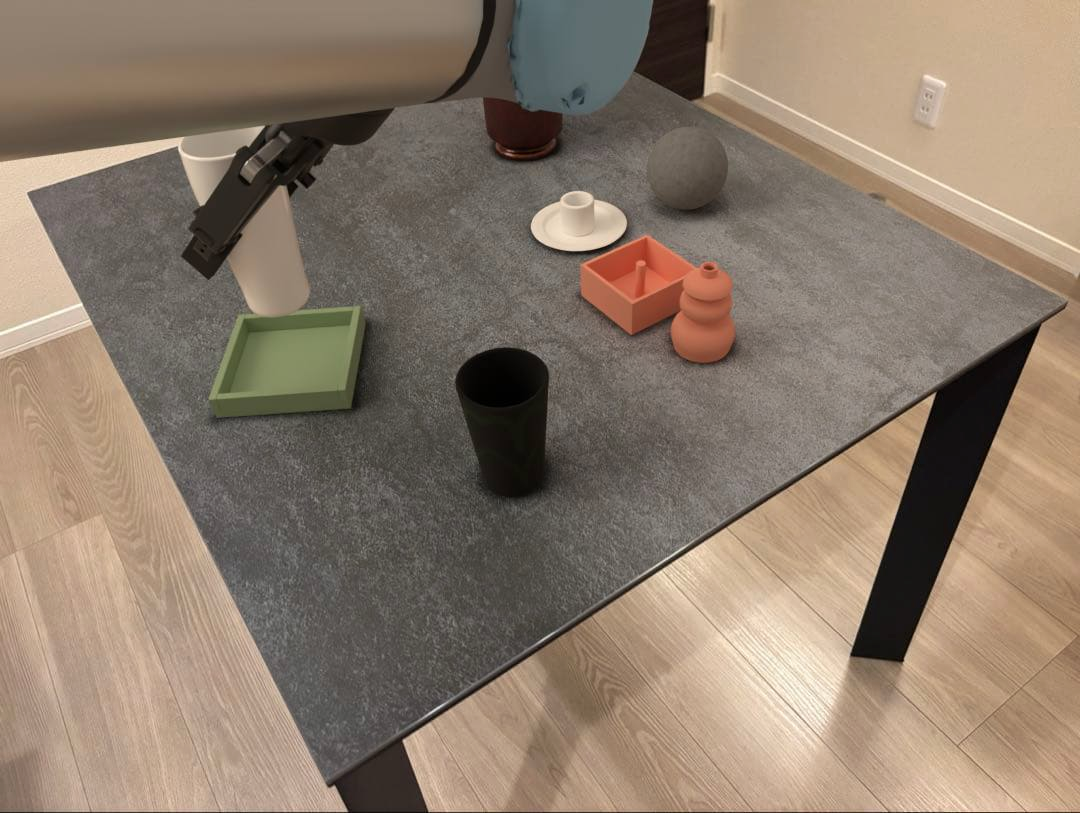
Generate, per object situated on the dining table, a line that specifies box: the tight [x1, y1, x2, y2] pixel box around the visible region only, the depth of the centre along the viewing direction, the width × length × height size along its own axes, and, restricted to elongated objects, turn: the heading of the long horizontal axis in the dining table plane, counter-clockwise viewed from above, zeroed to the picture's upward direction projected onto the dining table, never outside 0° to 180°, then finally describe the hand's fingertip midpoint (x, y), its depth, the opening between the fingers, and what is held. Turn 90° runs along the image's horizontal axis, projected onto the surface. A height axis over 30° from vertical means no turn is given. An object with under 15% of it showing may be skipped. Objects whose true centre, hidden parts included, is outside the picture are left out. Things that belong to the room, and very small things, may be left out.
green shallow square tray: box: [207, 305, 367, 419], centre depth 87 cm, size 14×14×3 cm
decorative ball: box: [646, 126, 729, 211], centre depth 103 cm, size 10×10×10 cm
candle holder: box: [530, 190, 628, 252], centre depth 103 cm, size 12×12×4 cm
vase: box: [482, 97, 563, 162], centre depth 111 cm, size 11×11×26 cm
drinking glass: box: [177, 126, 311, 318], centre depth 66 cm, size 7×7×15 cm
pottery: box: [579, 234, 736, 364], centre depth 87 cm, size 18×10×10 cm, turn 34°
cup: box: [454, 346, 550, 499], centre depth 71 cm, size 8×8×12 cm
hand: (226, 240), depth 68 cm, fingers closed on drinking glass, 7 cm apart
